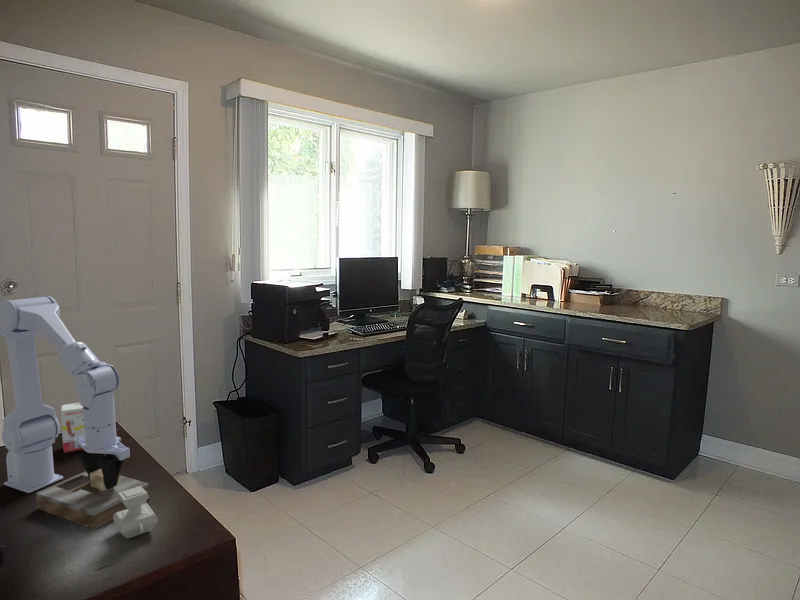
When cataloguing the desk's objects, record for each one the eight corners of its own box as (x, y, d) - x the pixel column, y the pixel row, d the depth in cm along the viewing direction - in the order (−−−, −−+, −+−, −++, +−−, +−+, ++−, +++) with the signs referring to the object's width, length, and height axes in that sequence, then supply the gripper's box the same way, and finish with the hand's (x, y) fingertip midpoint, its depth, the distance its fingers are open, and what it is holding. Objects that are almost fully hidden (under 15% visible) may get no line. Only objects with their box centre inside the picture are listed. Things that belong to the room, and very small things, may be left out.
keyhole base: (37, 508, 110) (36, 492, 109) (94, 482, 122) (93, 467, 121) (94, 529, 103) (93, 512, 102) (149, 498, 114) (148, 483, 114)
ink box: (63, 453, 137) (59, 410, 135) (63, 446, 141) (59, 405, 139) (100, 446, 142) (97, 404, 140) (99, 440, 146) (96, 399, 144)
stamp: (161, 535, 101) (158, 494, 100) (123, 548, 97) (121, 506, 95) (147, 516, 108) (145, 478, 107) (111, 527, 103) (109, 488, 102)
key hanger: (89, 505, 110) (86, 473, 109) (110, 494, 114) (107, 464, 113) (105, 510, 108) (102, 478, 107) (125, 499, 112) (122, 468, 111)
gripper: (141, 422, 109) (144, 483, 111) (94, 412, 115) (98, 470, 117) (110, 434, 103) (114, 498, 104) (63, 422, 108) (67, 483, 110)
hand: (104, 484), depth 110 cm, fingers closed on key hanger, 4 cm apart
